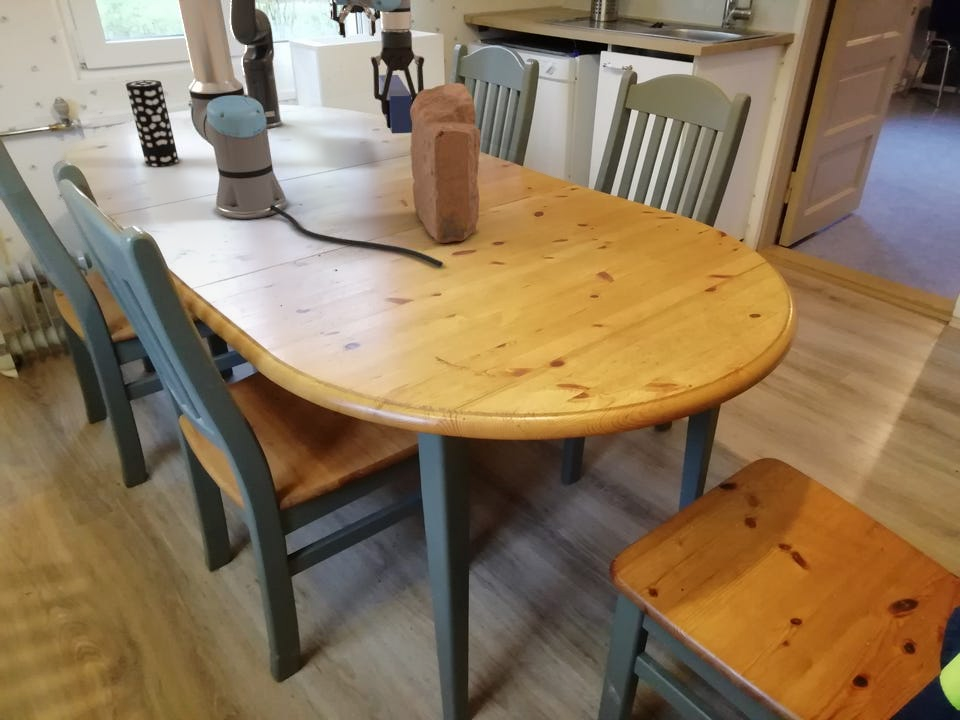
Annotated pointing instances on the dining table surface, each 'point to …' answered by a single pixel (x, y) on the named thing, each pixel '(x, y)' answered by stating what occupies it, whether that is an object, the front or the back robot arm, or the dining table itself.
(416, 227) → the dining table surface
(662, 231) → the dining table surface
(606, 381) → the dining table surface
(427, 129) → the stone
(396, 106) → the bar
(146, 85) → the black white spotted cylinder
